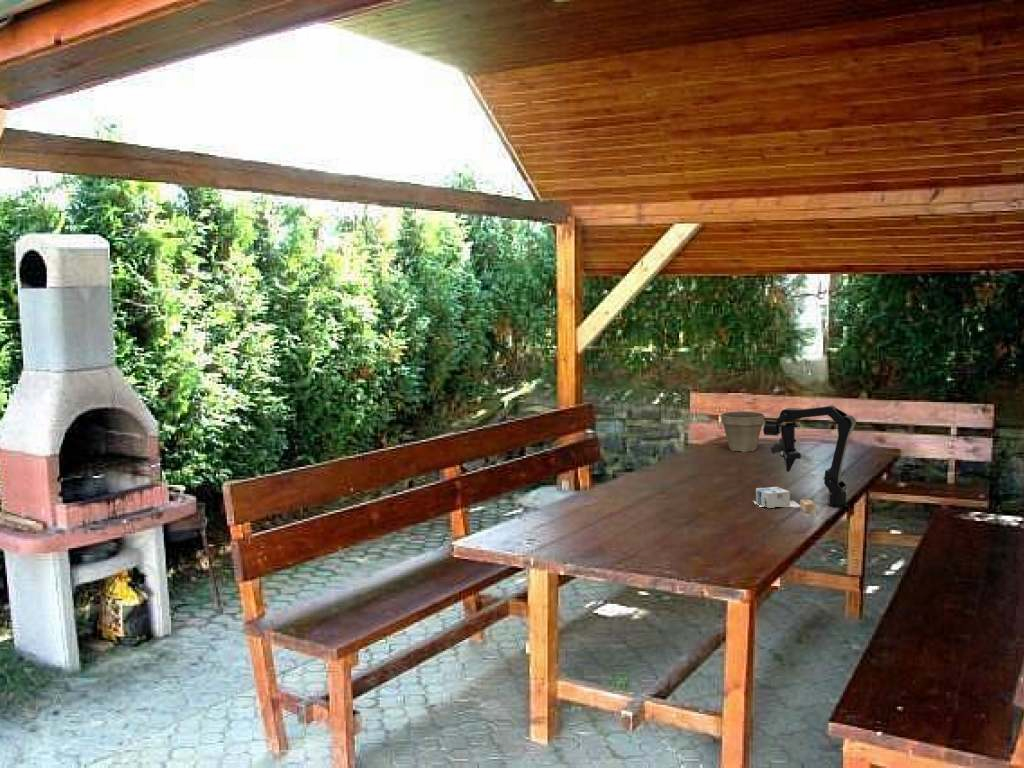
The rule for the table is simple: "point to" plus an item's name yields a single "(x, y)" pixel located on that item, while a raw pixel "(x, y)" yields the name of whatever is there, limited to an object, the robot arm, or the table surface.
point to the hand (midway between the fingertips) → (787, 471)
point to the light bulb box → (772, 497)
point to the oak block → (808, 506)
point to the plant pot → (742, 429)
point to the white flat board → (792, 504)
